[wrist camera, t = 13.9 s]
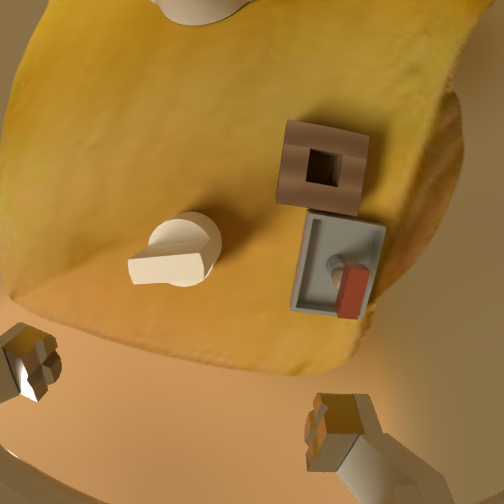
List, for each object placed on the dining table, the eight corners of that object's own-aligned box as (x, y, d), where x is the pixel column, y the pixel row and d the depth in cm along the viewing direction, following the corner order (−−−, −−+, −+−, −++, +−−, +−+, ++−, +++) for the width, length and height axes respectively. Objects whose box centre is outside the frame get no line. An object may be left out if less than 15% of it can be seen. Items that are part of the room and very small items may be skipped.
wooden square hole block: (285, 126, 38) (288, 119, 32) (356, 139, 38) (370, 135, 32) (275, 197, 41) (276, 202, 35) (345, 209, 40) (357, 216, 35)
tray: (306, 209, 41) (309, 213, 38) (379, 222, 41) (386, 227, 38) (289, 301, 45) (290, 310, 42) (357, 310, 45) (362, 319, 42)
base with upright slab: (217, 207, 42) (197, 224, 30) (226, 268, 44) (210, 305, 33) (158, 215, 43) (120, 233, 31) (168, 273, 45) (138, 307, 33)
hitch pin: (329, 243, 41) (347, 268, 31) (349, 246, 41) (373, 271, 31) (321, 283, 43) (335, 317, 33) (341, 285, 43) (359, 319, 33)
